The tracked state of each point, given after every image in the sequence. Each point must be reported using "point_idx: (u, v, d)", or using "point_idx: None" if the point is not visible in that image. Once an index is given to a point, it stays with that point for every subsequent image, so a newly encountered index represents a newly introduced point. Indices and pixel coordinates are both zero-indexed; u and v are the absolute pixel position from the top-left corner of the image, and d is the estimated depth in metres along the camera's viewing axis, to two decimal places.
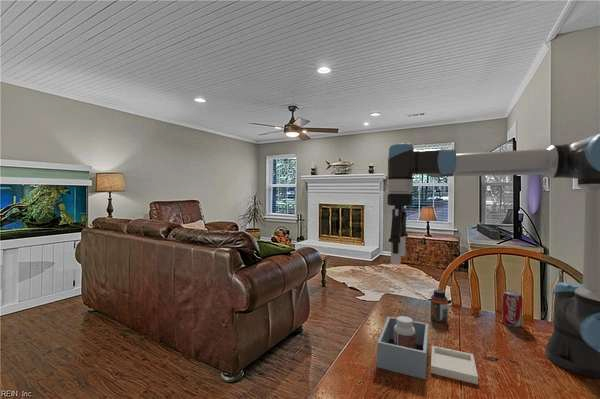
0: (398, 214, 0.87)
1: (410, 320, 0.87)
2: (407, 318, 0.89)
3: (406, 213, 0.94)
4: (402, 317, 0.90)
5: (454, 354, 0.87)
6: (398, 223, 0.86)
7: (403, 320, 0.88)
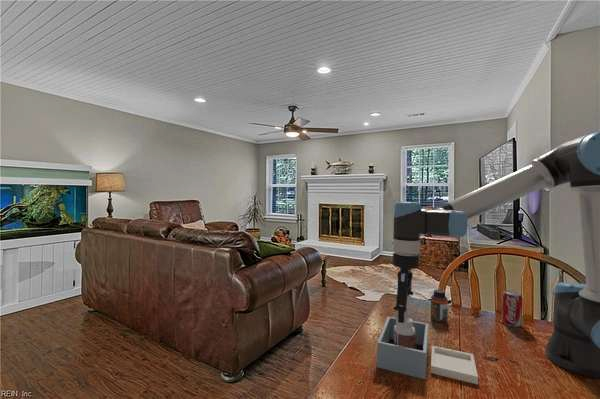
0: (404, 280, 0.82)
1: (410, 320, 0.87)
2: (407, 318, 0.89)
3: (412, 274, 0.89)
4: None
5: (454, 354, 0.87)
6: (404, 291, 0.81)
7: None
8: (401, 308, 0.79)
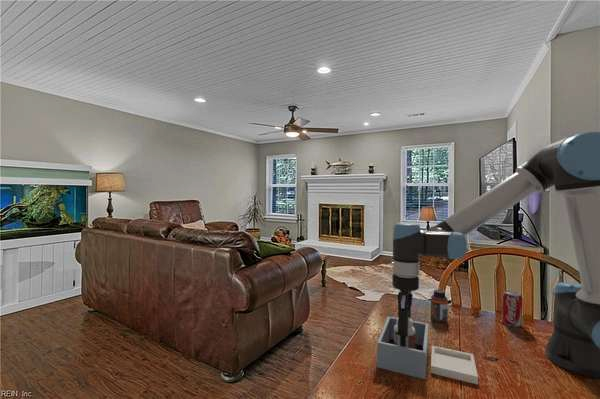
0: (404, 307, 0.82)
1: (410, 320, 0.87)
2: None
3: (412, 295, 0.89)
4: None
5: (454, 354, 0.87)
6: (405, 318, 0.82)
7: None
8: (403, 333, 0.82)
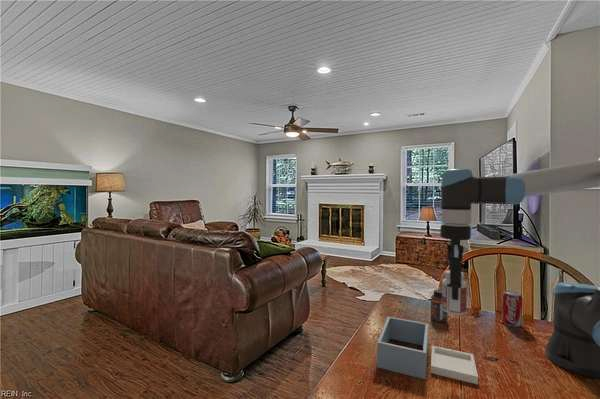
0: (458, 256, 0.76)
1: (461, 273, 0.82)
2: None
3: None
4: None
5: (454, 354, 0.87)
6: (459, 267, 0.76)
7: None
8: (456, 284, 0.76)
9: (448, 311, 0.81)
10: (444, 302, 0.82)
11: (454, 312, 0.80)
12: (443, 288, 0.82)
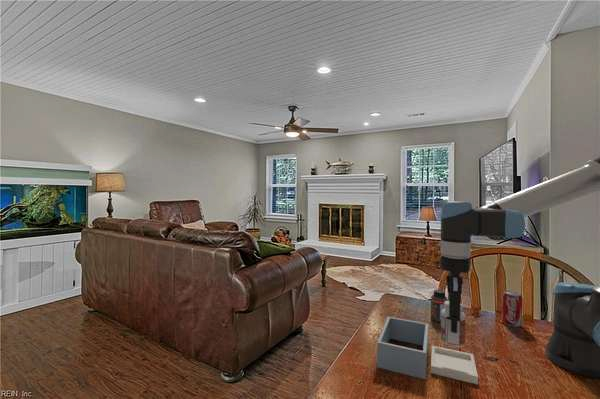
0: (457, 290, 0.77)
1: (460, 304, 0.82)
2: None
3: (461, 279, 0.83)
4: None
5: (454, 354, 0.87)
6: (458, 301, 0.77)
7: None
8: (455, 318, 0.77)
9: (447, 343, 0.81)
10: (443, 333, 0.82)
11: (453, 344, 0.80)
12: (442, 319, 0.83)
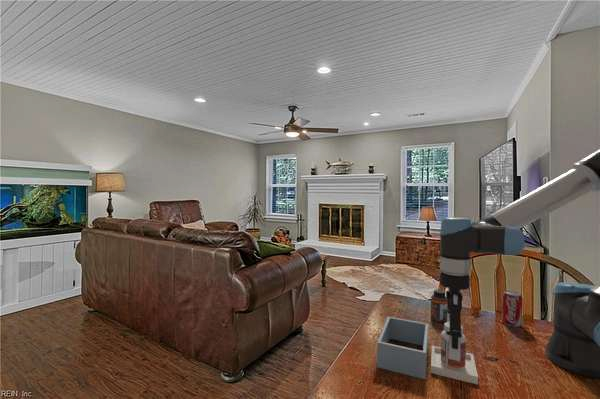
0: (457, 303, 0.76)
1: None
2: None
3: None
4: None
5: None
6: (458, 314, 0.75)
7: None
8: (456, 334, 0.74)
9: (447, 365, 0.81)
10: (443, 356, 0.82)
11: (453, 367, 0.80)
12: (442, 341, 0.82)
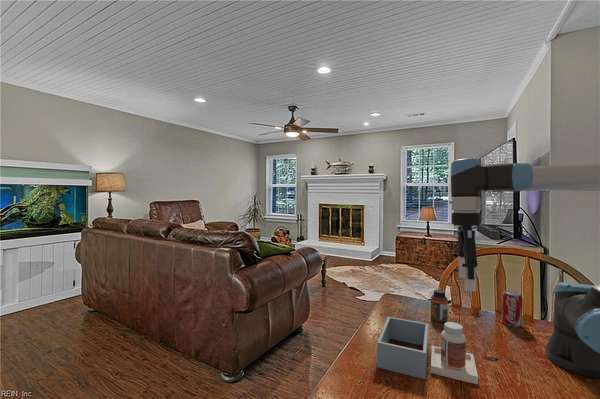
0: (471, 236, 0.80)
1: (460, 326, 0.82)
2: (456, 324, 0.83)
3: None
4: (450, 323, 0.84)
5: None
6: (473, 246, 0.79)
7: (453, 326, 0.82)
8: (472, 263, 0.77)
9: (447, 365, 0.81)
10: (443, 356, 0.82)
11: (453, 367, 0.80)
12: (442, 341, 0.82)
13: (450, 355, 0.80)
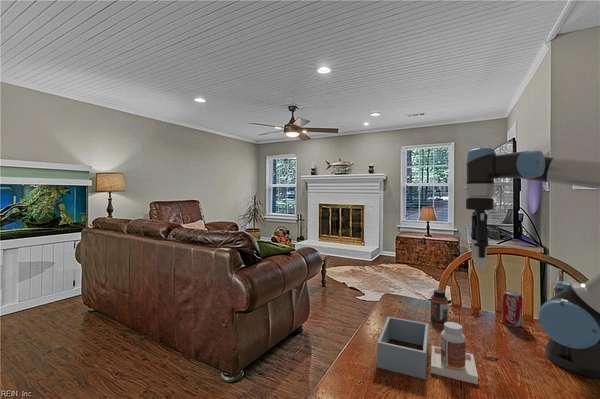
0: (484, 218, 0.88)
1: (459, 326, 0.82)
2: (455, 324, 0.83)
3: None
4: (450, 323, 0.84)
5: None
6: (485, 227, 0.87)
7: (452, 326, 0.82)
8: (484, 242, 0.85)
9: (447, 365, 0.81)
10: (443, 356, 0.82)
11: (453, 367, 0.80)
12: (442, 341, 0.82)
13: (450, 355, 0.80)
